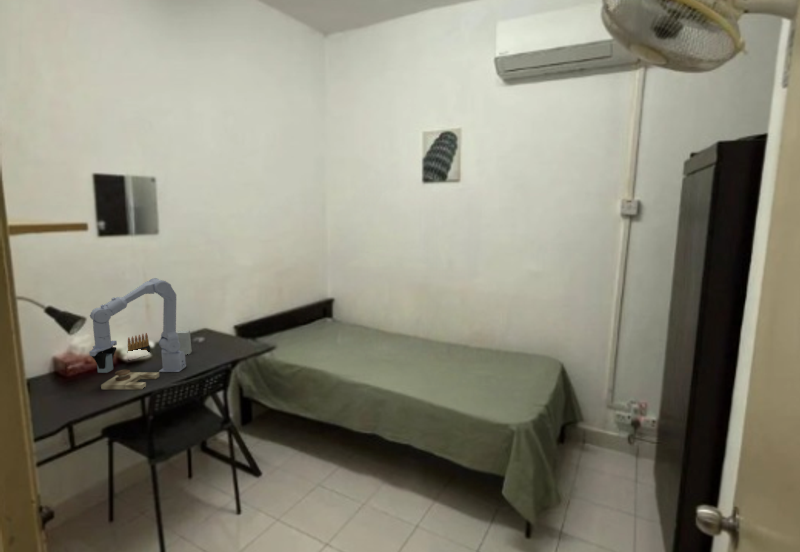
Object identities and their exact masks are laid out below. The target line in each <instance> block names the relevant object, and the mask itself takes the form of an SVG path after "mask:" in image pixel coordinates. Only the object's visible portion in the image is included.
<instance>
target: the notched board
mask: <svg viewBox="0 0 800 552" xmlns="http://www.w3.org/2000/svg"><path fill="white" fill-rule="evenodd" d="M158 378H160V372H159V371H158V372H157V371H156V372H151V371H149V372H146V371H145V372H144V371H143V372H140V371H138V372H135V371H133V372H132V371H131V370H130V369H120V370H117V371H115V372H114V376H113V377H112V378H110V379H108V380H106V381H105V382H103V383H102V384H100V387H101V390H144V389H145V388H147V382H146V381H145V382H143V381H140V380H157V379H158ZM139 381H140V382H139ZM144 387H145V388H144ZM143 388H144V389H143Z"/></svg>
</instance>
